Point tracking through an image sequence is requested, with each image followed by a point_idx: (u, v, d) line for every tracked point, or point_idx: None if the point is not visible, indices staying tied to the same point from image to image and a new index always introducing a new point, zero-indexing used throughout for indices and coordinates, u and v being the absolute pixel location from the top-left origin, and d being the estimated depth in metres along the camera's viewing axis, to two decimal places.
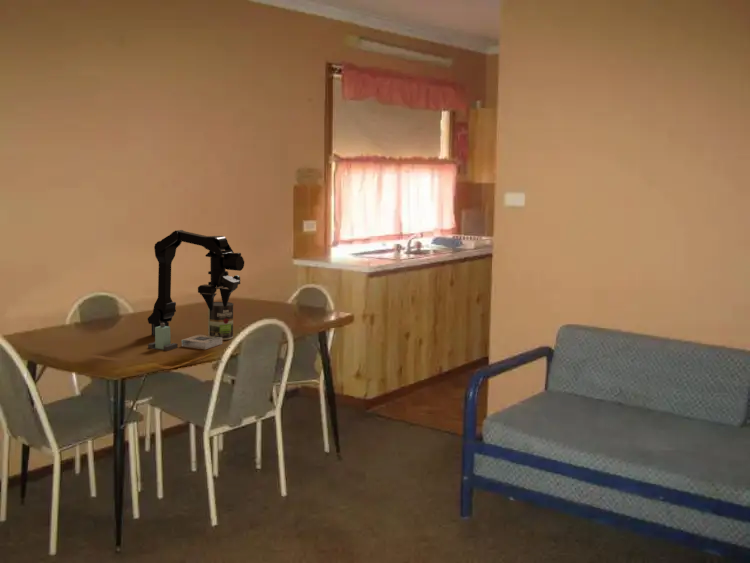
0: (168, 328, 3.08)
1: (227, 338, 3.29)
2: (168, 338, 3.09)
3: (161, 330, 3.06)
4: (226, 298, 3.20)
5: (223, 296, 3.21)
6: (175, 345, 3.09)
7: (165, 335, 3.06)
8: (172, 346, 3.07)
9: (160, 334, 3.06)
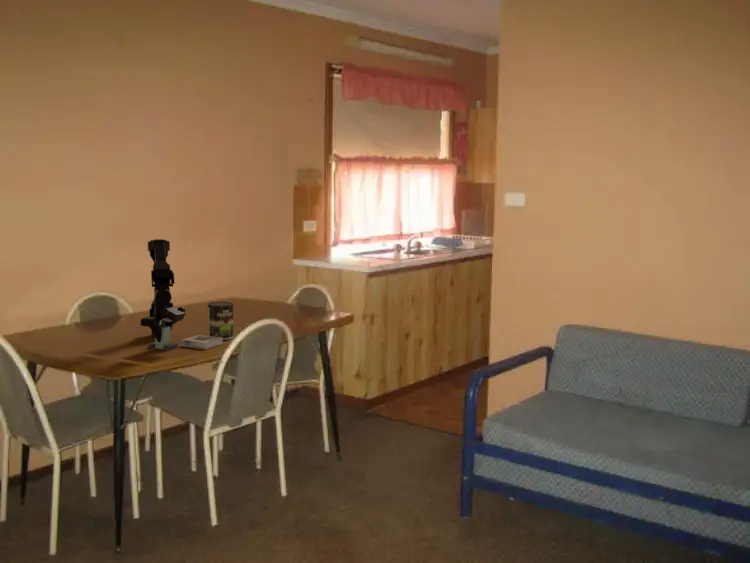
0: (168, 328, 3.08)
1: (227, 338, 3.29)
2: (168, 338, 3.09)
3: (161, 330, 3.06)
4: None
5: None
6: (175, 345, 3.09)
7: (165, 335, 3.06)
8: (172, 346, 3.07)
9: None
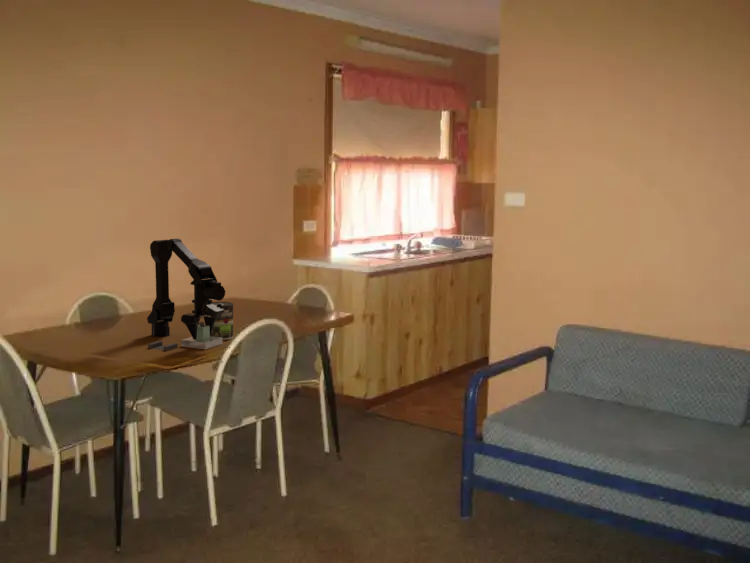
0: (207, 327, 3.14)
1: (227, 338, 3.29)
2: (208, 337, 3.15)
3: (200, 329, 3.12)
4: (210, 326, 3.18)
5: (207, 324, 3.19)
6: (175, 345, 3.09)
7: (204, 334, 3.12)
8: (172, 346, 3.07)
9: (200, 333, 3.12)
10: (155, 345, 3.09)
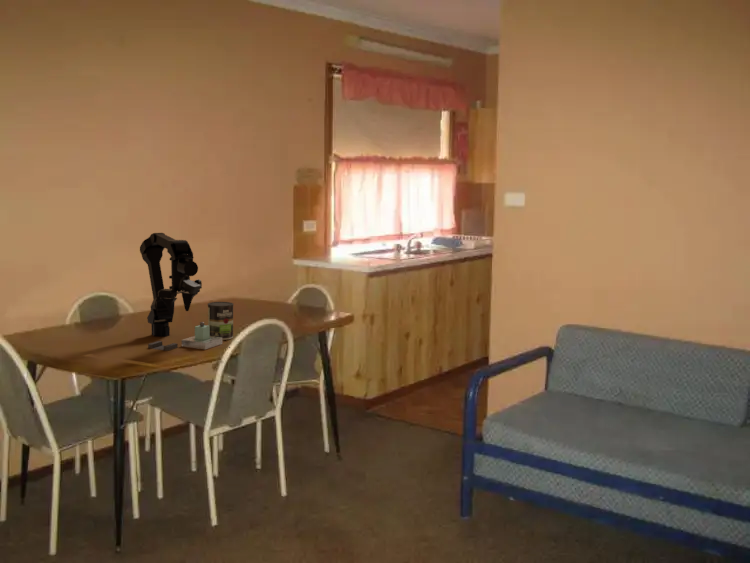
0: (207, 327, 3.14)
1: (227, 338, 3.29)
2: (208, 337, 3.15)
3: (200, 329, 3.12)
4: (188, 302, 3.18)
5: (185, 301, 3.19)
6: (175, 345, 3.09)
7: (204, 334, 3.12)
8: (172, 346, 3.07)
9: (200, 333, 3.12)
10: (155, 345, 3.09)
